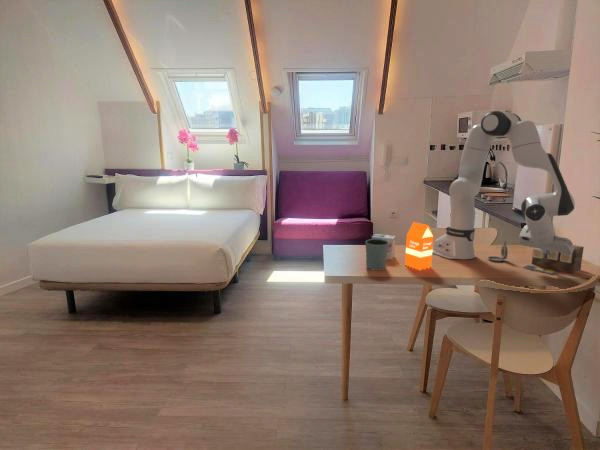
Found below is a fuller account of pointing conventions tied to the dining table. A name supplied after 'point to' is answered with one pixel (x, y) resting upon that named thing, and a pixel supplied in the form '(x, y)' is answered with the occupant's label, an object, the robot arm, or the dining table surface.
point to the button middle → (554, 256)
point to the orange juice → (419, 246)
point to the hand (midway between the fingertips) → (549, 253)
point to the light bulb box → (390, 243)
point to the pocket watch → (503, 254)
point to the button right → (566, 258)
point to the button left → (538, 253)
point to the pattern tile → (540, 269)
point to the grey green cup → (376, 253)
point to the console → (561, 265)
